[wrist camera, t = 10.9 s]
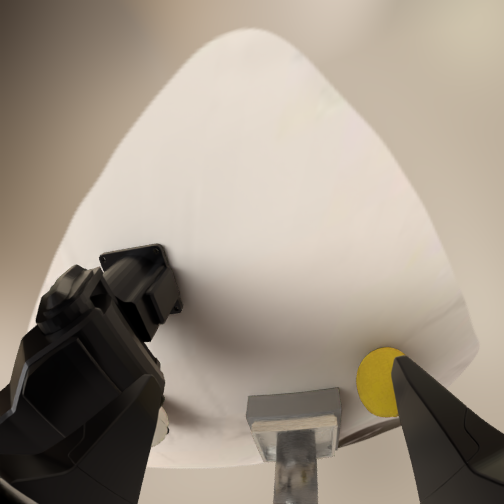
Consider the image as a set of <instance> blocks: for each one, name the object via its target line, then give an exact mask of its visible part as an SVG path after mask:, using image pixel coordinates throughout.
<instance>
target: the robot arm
mask: <svg viewBox="0 0 504 504" xmlns="http://www.w3.org/2000/svg"><path fill="white" fill-rule="evenodd" d="M155 248H156V249H158V251H159V252H156V251H155ZM104 258H105V259H106V260H104ZM99 260H100V263H101V266H102V268H103V271H104V273H103V272H102V270H101V268H100V267H97V268H94V269H90V270H87V269H84V268H82V267H81V266H79V265H74V266H72V267H71V268H69V269H68V270H67V271H66V272H65V273H64V274H62V275H61V276H60V277H59V278H58V279H57V280H56V282H55V284H54V285H53V286H52V287H51V288H50V291H48V292H47V293H46V294H45V295H43V296H42V297H41V301H40V305H39V308H38V312H37V316H36V323H37V325H36V326H35V327H34V328H33V329H31V330H30V331H29V332H28V333H27V334H26V335H25V336H24V337H23V338H22V340H21V343H20V346H19V350H18V353H17V357H16V360H15V364H14V368H13V372H12V376H11V380H10V383H9V384H8V385H7V386H6V387H5V388H4V389H3V390H1V391H0V504H138V499H139V495H140V491H141V486H142V482H143V478H144V473H145V469H146V465H147V461H148V457H149V453H150V449H151V445H152V442H153V438H154V434H155V430H156V426H157V421H158V415H159V409H160V408H161V406H162V404H163V402H164V400H165V396H164V395H163V393H164V387H165V379H164V375H163V373H162V372H161V370H160V362H159V361H158V359H157V358H155V357H154V356H153V354H152V353H151V352H150V350H149V349H148V347H147V346H146V344H145V343H144V342H151V340H152V338H153V337H154V335H155V333H156V331H157V329H158V327H159V325H160V324H164V323H165V321H166V319H167V317H168V316H169V314H177V313H180V312H181V311H182V309H183V306H182V303H181V300H180V297H179V295H180V292H179V290H178V287H177V284H176V281H175V278H174V275H173V272H172V269H171V268H170V267H169V265H168V262H167V259H166V256H165V253H164V250H163V247H162V246H161V245H160V244H151V245H145V246H139V247H134V248H128V249H123V250H117V251H112V252H106V253H103V254H101V255H100V257H99ZM175 306H176V307H178V308H179V309H177V308H176V307H175ZM391 378H392V383H393V388H394V394H395V399H396V405H397V410H398V415H399V418H400V422H401V425H402V429H403V432H404V436H405V440H406V443H407V447H408V451H409V455H410V459H411V463H412V467H413V472H414V476H415V480H416V485H417V490H418V494H419V500H420V502H421V503H420V504H504V434H503V433H501V432H500V431H499V430H497V429H496V428H494V427H493V426H491V425H490V424H488V423H487V422H485V421H484V420H483V419H481V418H480V417H479V416H478V415H477V414H475V413H474V412H473V411H472V410H471V409H469V408H467V407H466V405H464V404H463V403H462V402H461V401H460V400H459V399H458V398H456V397H455V396H454V395H453V394H452V393H451V392H449V391H448V390H447V389H446V388H445V387H443V386H442V385H441V384H440V383H439V382H438V381H436V380H435V379H434V378H433V377H432V376H430V375H429V374H428V373H427V372H426V371H424V370H423V369H422V368H421V367H420V366H418V365H417V364H416V363H415V362H414V361H412V360H411V359H410V358H409V357H408V356H406V355H402V356H397V357H395V358H394V362H393V367H392V371H391Z"/></svg>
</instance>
